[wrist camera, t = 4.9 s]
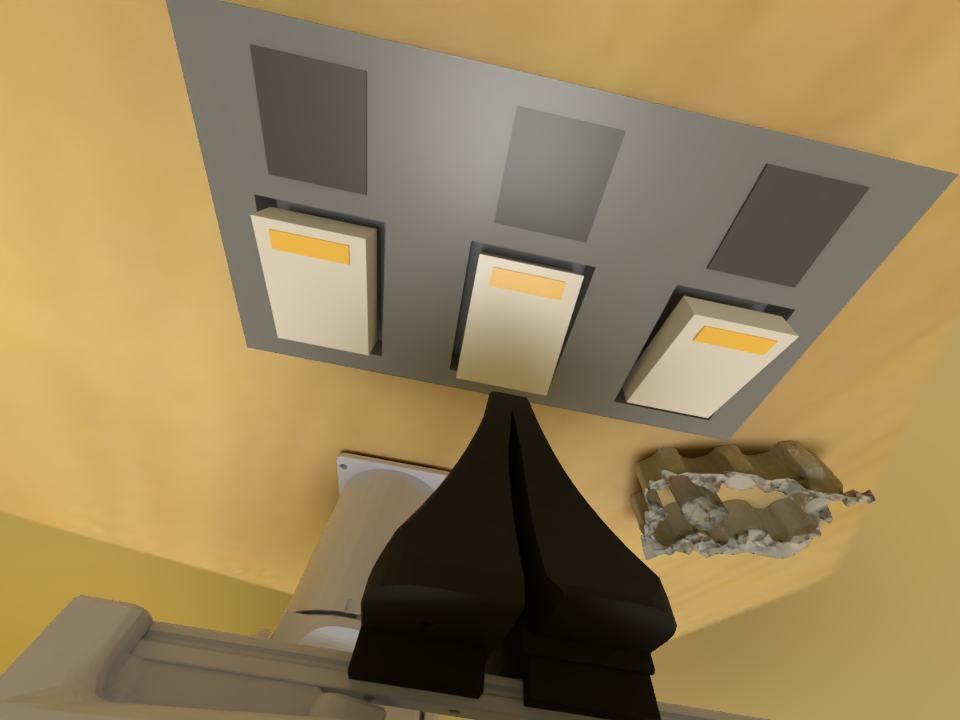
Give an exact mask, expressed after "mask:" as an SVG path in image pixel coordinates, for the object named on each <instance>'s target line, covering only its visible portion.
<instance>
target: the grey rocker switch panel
mask: <svg viewBox="0 0 960 720" xmlns="http://www.w3.org/2000/svg"><path fill="white" fill-rule="evenodd" d="M166 3H167V7H168V11H169V15H170V20H171V24H172V28H173V32H174V37H175V41H176V45H177V49H178V54H179V58H180V62H181V67H182V71H183V75H184V79H185V84H186V88H187V92H188V96H189V101H190V105H191V109H192V113H193V118H194V122H195V126H196V131H197V135H198V139H199V143H200V148H201V152H202V156H203V160H204V165H205V169H206V173H207V177H208V182H209V186H210V190H211V194H212V199H213V203H214V207H215V212H216V216H217V220H218V224H219V229H220V233H221V237H222V241H223V246H224V250H225V254H226V258H227V263H228V267H229V271H230V276H231V280H232V284H233V288H234V293H235V297H236V301H237V305H238V310H239V314H240V318H241V322H242V327H243V331H244V335H245V339H246V344H247V347H248V348H254V349H259V350H264V351H269V352H274V353H279V354H284V355H290V356H295V357H300V358H305V359H310V360H315V361H321V362H326V363H331V364H336V365H341V366H346V367H351V368H357V369H362V370H367V371H372V372H377V373H382V374H388V375H393V376H398V377H403V378H408V379H413V380H418V381H424V382H429V383H434V384H439V385H444V386H449V387H455V388H460V389H465V390H470V391H475V392H480V393H485V394H490V393H491V392H493V391H497V392H502V393H507V394H512V395H517V396H522V397H527V399H528V400H529V402H532V403H537V404H542V405H547V406H552V407H558V408H563V409H568V410H573V411H578V412H583V413H589V414H594V415H599V416H604V417H609V418H614V419H619V420H625V421H630V422H635V423H640V424H645V425H650V426H656V427H661V428H666V429H671V430H676V431H681V432H686V433H692V434H697V435H702V436H707V437H712V438H717V439H723V440H729V439H730V438H731V437H732V436H733V434H734V433H735V432H736V431H737V430H738V429H739V427H740V426H741V425H742V424H743V423H744V422H745V421H746V419H747V418H748V417H749V416H750V415H751V414H752V412H753V411H754V410H755V409H756V408H757V407H758V406H759V404H760V403H761V402H762V401H763V400H764V399H765V397H766V396H767V395H768V394H769V393H770V392H771V391H772V389H773V388H774V387H775V386H776V385H777V384H778V382H779V381H780V380H781V379H782V378H783V377H784V375H785V374H786V373H787V372H788V371H789V370H790V369H791V367H792V366H793V365H794V364H795V363H796V362H797V360H798V359H799V358H800V357H801V356H802V355H803V354H804V352H805V351H806V350H807V349H808V348H809V347H810V345H811V344H812V343H813V342H814V341H815V340H816V339H817V337H818V336H819V335H820V334H821V333H822V332H823V330H824V329H825V328H826V327H827V326H828V325H829V324H830V322H831V321H832V320H833V319H834V318H835V317H836V315H837V314H838V313H839V312H840V311H841V310H842V308H843V307H844V306H845V305H846V304H847V303H848V302H849V300H850V299H851V298H852V297H853V296H854V295H855V293H856V292H857V291H858V290H859V289H860V288H861V287H862V285H863V284H864V283H865V282H866V281H867V280H868V278H869V277H870V276H871V275H872V274H873V273H874V272H875V270H876V269H877V268H878V267H879V266H880V265H881V263H882V262H883V261H884V260H885V259H886V258H887V256H888V255H889V254H890V253H891V252H892V251H893V250H894V248H895V247H896V246H897V245H898V244H899V243H900V241H901V240H902V239H903V238H904V237H905V236H906V235H907V233H908V232H909V231H910V230H911V229H912V228H913V226H914V225H915V224H916V223H917V222H918V221H919V220H920V218H921V217H922V216H923V215H924V214H925V213H926V211H927V210H928V209H929V208H930V207H931V206H932V205H933V203H934V202H935V201H936V200H937V199H938V198H939V196H940V195H941V194H942V193H943V192H944V191H945V189H946V188H947V187H948V186H949V185H950V184H951V183H952V181H953V180H954V179H955V178H956V177H957V176H958V174H954V173H950V172H946V171H941V170H937V169H933V168H929V167H924V166H920V165H916V164H912V163H908V162H903V161H899V160H895V159H891V158H886V157H882V156H878V155H874V154H869V153H865V152H861V151H857V150H852V149H848V148H844V147H840V146H835V145H831V144H827V143H823V142H818V141H814V140H810V139H806V138H801V137H797V136H793V135H789V134H784V133H780V132H776V131H772V130H767V129H763V128H759V127H755V126H751V125H746V124H742V123H738V122H734V121H729V120H725V119H721V118H717V117H712V116H708V115H704V114H700V113H695V112H691V111H687V110H683V109H678V108H674V107H670V106H666V105H661V104H657V103H653V102H649V101H644V100H640V99H636V98H632V97H627V96H623V95H619V94H615V93H610V92H606V91H602V90H598V89H594V88H589V87H585V86H581V85H577V84H572V83H568V82H564V81H560V80H555V79H551V78H547V77H543V76H538V75H534V74H530V73H526V72H521V71H517V70H513V69H509V68H504V67H500V66H496V65H492V64H487V63H483V62H479V61H475V60H470V59H466V58H462V57H458V56H453V55H449V54H445V53H441V52H437V51H432V50H428V49H424V48H420V47H415V46H411V45H407V44H403V43H398V42H394V41H390V40H386V39H381V38H377V37H373V36H369V35H364V34H360V33H356V32H352V31H347V30H343V29H339V28H335V27H330V26H326V25H322V24H318V23H313V22H309V21H305V20H301V19H296V18H292V17H288V16H284V15H280V14H275V13H271V12H267V11H263V10H258V9H254V8H250V7H246V6H241V5H237V4H233V3H229V2H224V1H220V0H166ZM268 207H275V208H280V209H285V210H289V211H294V212H299V213H304V214H308V215H313V216H318V217H323V218H327V219H332V220H337V221H341V222H346V223H351V224H356V225H360V226H365V227H370V228H374V229H377V342H376V344H375V345H374V347H373V349H372V351H371V352H370V354H369V355H364V354H359V353H354V352H349V351H343V350H338V349H333V348H328V347H323V346H318V345H313V344H308V343H303V342H298V341H292V340H287V339H282V338H278V336H277V331H276V327H275V322H274V318H273V313H272V309H271V304H270V300H269V295H268V291H267V286H266V282H265V277H264V273H263V269H262V264H261V260H260V255H259V251H258V246H257V242H256V237H255V233H254V228H253V224H252V219H251V214H254V213H256V212H258V211H261V210H263V209H266V208H268ZM481 251H482V252H487V253H491V254H496V255H501V256H506V257H510V258H515V259H520V260H524V261H529V262H534V263H539V264H543V265H548V266H553V267H557V268H562V269H567V270H572V271H576V272H578V273H580V274H581V275H583V276H584V278H583V281H582V284H581V288H580V291H579V294H578V297H577V300H576V304H575V307H574V310H573V313H572V316H571V319H570V323H569V326H568V329H567V332H566V335H565V339H564V342H563V345H562V348H561V351H560V355H559V358H558V361H557V364H556V367H555V370H554V374H553V377H552V380H551V383H550V386H549V390H548V393H547V396H545V395H540V394H535V393H530V392H525V391H520V390H515V389H510V388H504V387H499V386H494V385H489V384H484V383H479V382H474V381H469V380H464V379H458V378H456V375H457V370H458V365H459V359H460V354H461V349H462V344H463V338H464V333H465V328H466V323H467V317H468V312H469V307H470V302H471V296H472V291H473V286H474V281H475V275H476V270H477V265H478V260H479V254H480V252H481ZM683 296H687V297H692V298H697V299H702V300H706V301H711V302H716V303H720V304H725V305H730V306H735V307H739V308H744V309H749V310H754V311H758V312H763V313H768V314H772V315H777V316H782V317H783V318H784V319H785V321H786V322H787V323H788V324H789V325H790V326H791V327H792V329H793V330H794V331H795V332H796V333H797V334H798V335H799V337H798V338H797V339H796V340H795V341H794V342H792V343H791V344H790V345H789V346H788V347H787V348H786V349H785V350H784V351H782V352H781V353H780V354H779V355H778V356H777V357H776V358H775V359H773V360H772V361H771V362H770V363H769V364H768V365H767V366H766V367H765V368H763V369H762V370H761V371H760V372H759V373H758V374H757V375H756V376H754V377H753V378H752V379H751V380H750V381H749V382H748V383H747V384H746V385H744V386H743V387H742V388H741V389H740V390H739V391H738V392H737V393H735V394H734V395H733V396H732V397H731V398H730V399H729V400H728V401H727V402H725V403H724V404H723V405H722V406H721V407H720V408H719V409H718V410H716V411H715V412H714V413H713V414H712V415H711V416H710V417H709V418H705V417H699V416H694V415H689V414H684V413H679V412H674V411H669V410H664V409H659V408H654V407H649V406H643V405H638V404H633V403H628V402H626V399H625V395H624V391H623V387H622V385H623V384H624V382H625V380H626V378H627V376H628V374H629V373H630V371H631V369H632V368H633V366H634V365H635V363H636V362H637V361H638V359H639V358H640V356H641V355H642V354H643V352H644V351H645V349H646V348H647V347H648V345H649V344H650V342H651V341H652V340H653V338H654V337H655V335H656V334H657V333H658V331H659V330H660V328H661V327H662V326H663V324H664V323H665V321H666V320H667V319H668V317H669V316H670V314H671V313H672V312H673V310H674V309H675V307H676V306H677V305H678V303H679V302H680V300H681V299H682V298H683Z"/></svg>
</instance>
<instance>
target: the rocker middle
mask: <svg viewBox="0 0 960 720" xmlns="http://www.w3.org/2000/svg"><path fill="white" fill-rule="evenodd" d="M583 278H584V276H583V275H581V274H580V273H578V272H576V271H572V270H567V269H562V268H557V267H553V266H548V265H543V264H539V263H534V262H529V261H524V260H520V259H515V258H510V257H506V256H501V255H496V254H491V253H487V252H482V251H481V252H480V254H479V260H478V265H477V270H476V275H475V281H474V286H473V291H472V296H471V302H470V307H469V312H468V317H467V323H466V328H465V333H464V338H463V344H462V349H461V354H460V359H459V365H458V370H457V375H456V378H458V379H464V380H469V381H474V382H479V383H484V384H489V385H494V386H499V387H504V388H510V389H515V390H520V391H525V392H530V393H535V394H540V395H545V396H547V393H548V390H549V386H550V383H551V380H552V377H553V374H554V370H555V367H556V364H557V361H558V358H559V355H560V351H561V348H562V345H563V342H564V339H565V335H566V332H567V329H568V326H569V323H570V319H571V316H572V313H573V310H574V307H575V304H576V300H577V297H578V294H579V291H580V288H581V284H582V281H583Z"/></svg>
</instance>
